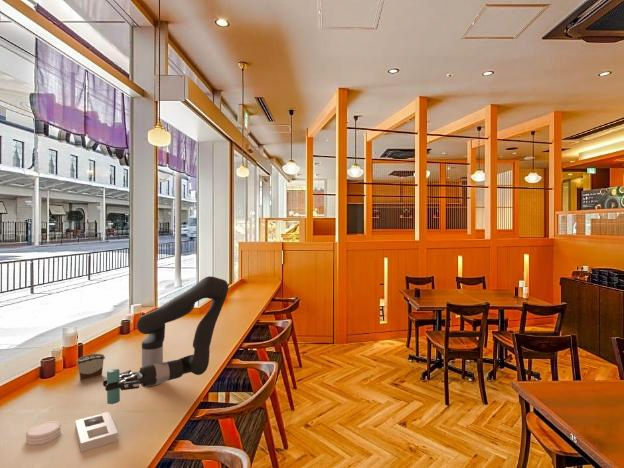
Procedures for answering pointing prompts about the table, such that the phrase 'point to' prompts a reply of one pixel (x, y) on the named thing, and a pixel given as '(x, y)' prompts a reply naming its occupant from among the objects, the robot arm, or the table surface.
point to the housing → (95, 431)
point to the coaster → (43, 433)
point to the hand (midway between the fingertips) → (104, 385)
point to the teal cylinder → (114, 394)
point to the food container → (90, 366)
